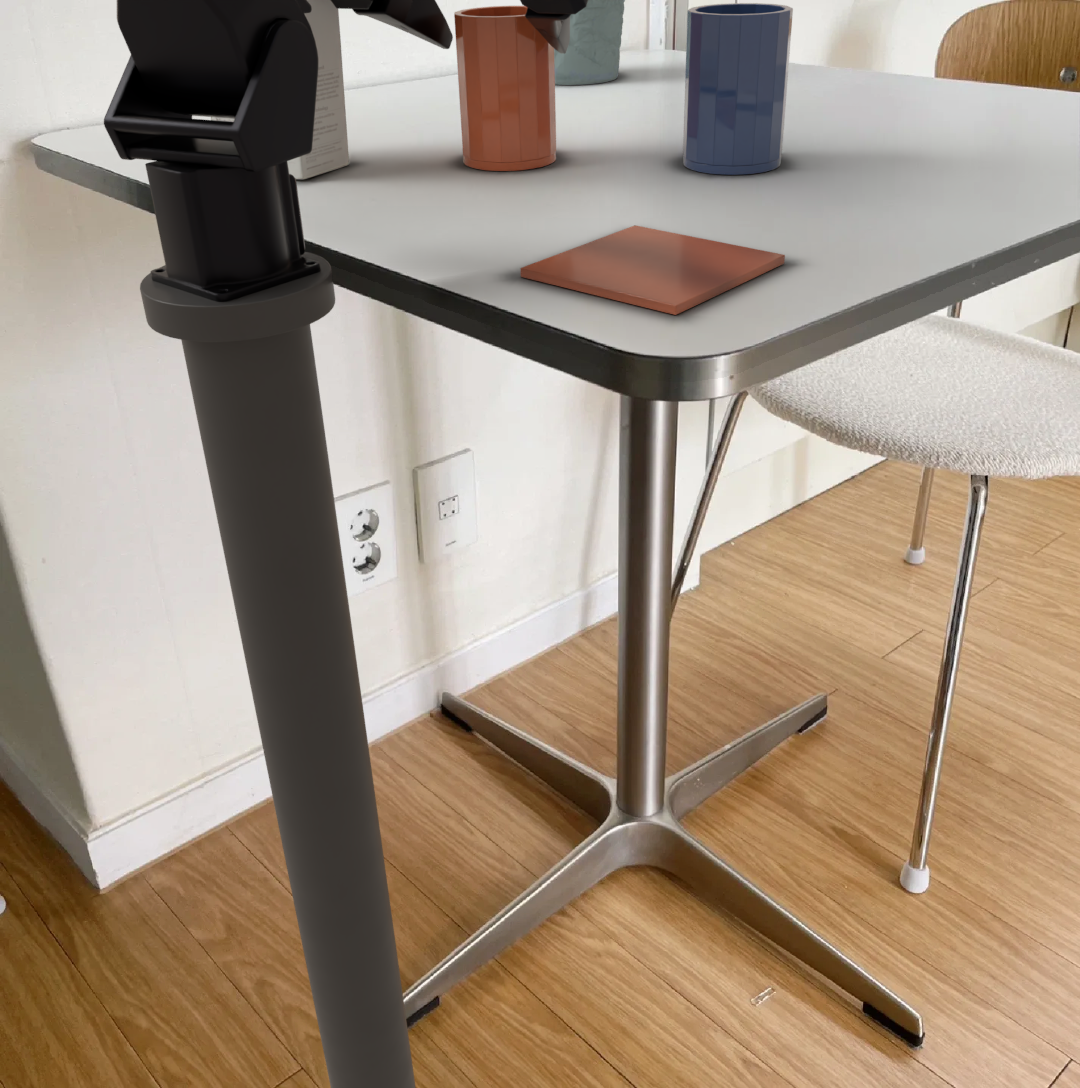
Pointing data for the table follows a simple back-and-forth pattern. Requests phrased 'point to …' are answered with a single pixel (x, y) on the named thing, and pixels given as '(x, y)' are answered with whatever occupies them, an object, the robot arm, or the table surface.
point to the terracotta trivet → (653, 268)
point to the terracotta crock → (505, 90)
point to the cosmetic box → (324, 98)
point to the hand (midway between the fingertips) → (505, 45)
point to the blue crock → (736, 87)
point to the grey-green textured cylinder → (592, 45)
